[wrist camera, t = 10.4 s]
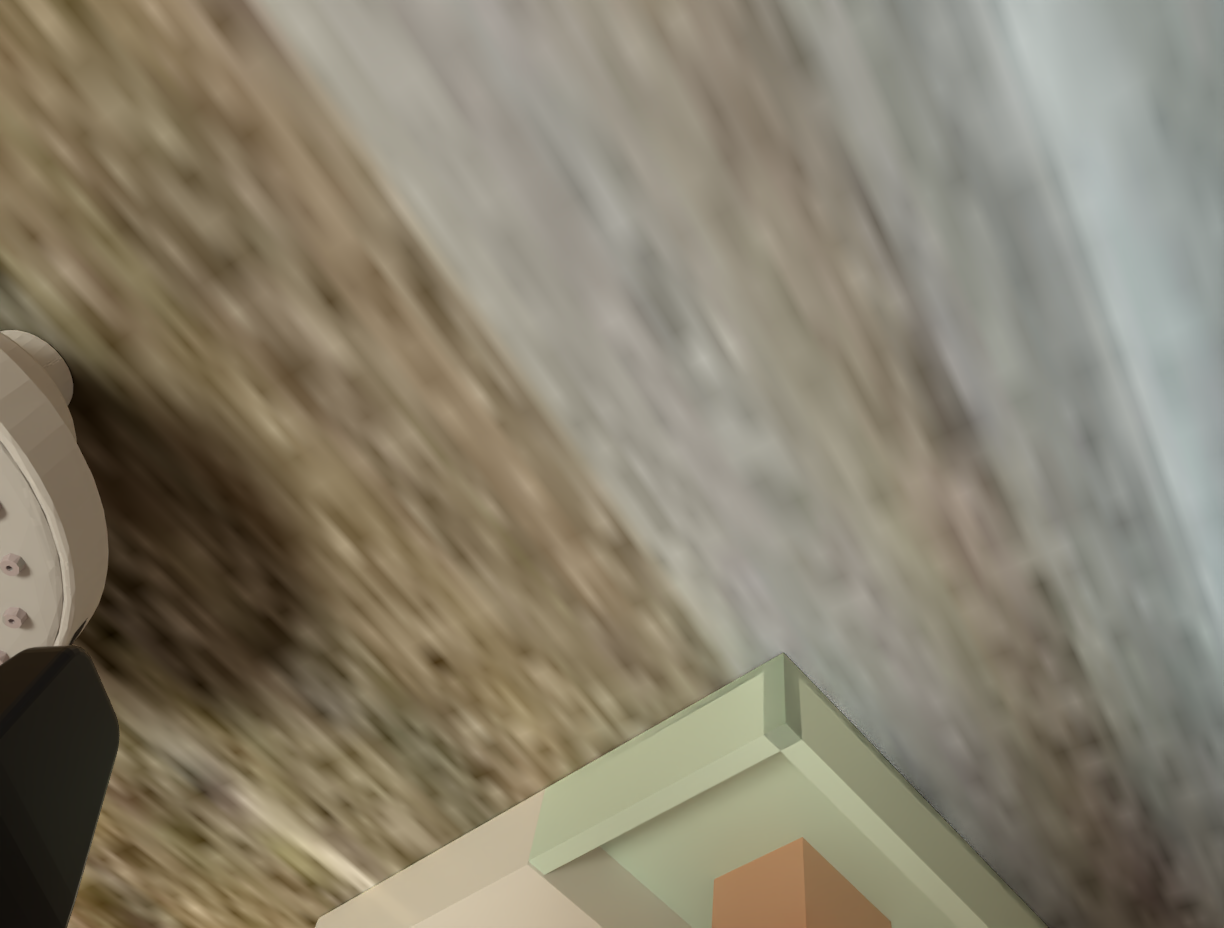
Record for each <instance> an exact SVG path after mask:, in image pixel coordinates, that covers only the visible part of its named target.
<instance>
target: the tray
mask: <svg viewBox="0 0 1224 928" xmlns="http://www.w3.org/2000/svg"><path fill="white" fill-rule="evenodd" d="M801 837H803V838H804V839H805V840H806V841H807V842H808V843H809V844H810V845H811V846H812V847H813V848H815V849H816V850H817V851H818V852H819V853H820V854H821V855H822V856H823V857H824V858H825V859H826V860H827V861H828V862H829V863H830V864H831V865H832V866H833V867H834V868H835V869H836V870H837V871H839V872H840V873H841V874H842V875H843V876H844V877H845V878H846V879H847V880H848V881H849V882H850V883H851V884H852V885H853V886H854V887H855V888H856V889H857V890H858V891H859V892H860V893H861V894H863V895H864V896H865V897H866V898H867V899H868V900H869V901H870V902H871V903H872V904H873V905H874V906H875V907H876V908H877V909H878V910H879V911H880V912H881V913H882V914H883V915H884V916H885V917H887V918H888V919H889V920H890V921H891V926H892V928H1049V927H1048V926H1047V925H1046V924H1045V923H1044V922H1043V921H1042V920H1041V919H1040V918H1039V917H1038V916H1037V915H1036V914H1035V913H1034V912H1033V911H1032V910H1031V909H1030V908H1029V907H1028V906H1027V905H1026V904H1025V903H1024V901H1023V900H1022V899H1021V898H1020V897H1019V896H1018V895H1017V894H1016V893H1015V892H1014V891H1013V890H1012V889H1011V888H1010V887H1009V886H1008V885H1007V884H1006V883H1005V882H1004V881H1003V880H1002V879H1001V878H1000V877H999V876H998V875H997V873H996V872H995V871H994V870H993V869H992V868H991V867H990V866H989V865H988V864H987V863H986V862H985V861H984V860H983V859H982V858H981V857H980V856H979V855H978V854H977V853H976V852H975V851H974V850H973V849H972V848H971V847H970V845H969V844H968V843H967V842H966V841H965V840H964V839H963V838H962V837H961V836H960V835H959V834H958V833H957V832H956V831H955V830H954V829H953V828H952V827H951V826H950V825H949V824H948V823H947V822H946V821H945V820H944V819H943V817H942V816H941V815H940V814H939V813H938V812H937V811H936V810H935V809H934V808H933V807H932V806H931V805H930V804H929V803H928V802H927V801H926V800H925V799H924V798H923V797H922V796H921V795H920V794H919V793H918V792H917V791H916V789H915V788H914V787H913V786H912V785H911V784H910V783H909V782H908V781H907V780H906V779H905V778H904V777H903V776H902V775H901V774H900V773H899V772H898V771H897V770H896V769H895V768H894V767H893V766H892V765H891V764H890V763H889V762H888V760H887V759H886V758H885V757H884V756H883V755H882V754H881V753H880V752H879V751H878V750H877V749H876V748H875V747H874V746H873V745H872V744H871V743H870V742H869V741H868V740H867V739H866V738H865V737H864V736H863V735H862V734H861V732H860V731H859V730H858V729H857V728H856V727H855V726H854V725H853V724H852V723H851V722H850V721H849V720H848V719H847V718H846V717H845V716H844V715H843V714H842V713H841V712H840V711H839V710H838V709H837V708H836V707H835V706H834V704H833V703H832V702H831V701H830V700H829V699H828V698H827V697H826V696H825V695H824V694H823V693H822V692H821V691H820V690H819V689H818V688H817V687H816V686H815V685H814V684H813V683H812V682H811V681H810V680H809V679H808V678H807V676H806V675H805V674H804V673H803V672H802V671H801V670H800V669H799V668H798V667H797V666H796V665H795V664H794V663H793V662H792V661H791V660H790V659H789V658H788V657H787V656H786V655H785V654H784V653H782V654H780V655H778V656H777V657H775V658H773V659H771V660H770V661H768V662H766V663H764V664H763V665H761V666H759V667H757V668H756V669H754V670H752V671H750V672H749V673H747V674H745V675H743V676H742V677H740V678H738V679H736V680H735V681H733V682H731V683H729V684H728V685H726V686H724V687H722V688H721V689H719V690H717V691H715V692H714V693H712V694H710V695H708V696H707V697H705V698H703V699H701V700H700V701H698V702H696V703H694V704H693V705H691V706H689V707H687V708H686V709H684V710H682V711H680V712H679V713H677V714H675V715H673V716H672V717H670V718H668V719H666V720H665V721H663V722H661V723H659V724H658V725H656V726H654V727H652V728H651V729H649V730H647V731H645V732H644V733H642V734H640V735H638V736H637V737H635V738H633V739H631V740H630V741H628V742H626V743H624V744H623V745H621V746H619V747H617V748H616V749H614V750H612V751H610V752H609V753H607V754H605V755H603V756H602V757H600V758H598V759H596V760H595V761H593V762H591V763H589V764H588V765H586V766H584V767H582V768H581V769H579V770H577V771H575V772H574V773H572V774H570V775H568V776H567V777H565V778H563V779H561V780H560V781H558V782H556V783H554V784H553V785H551V786H549V787H547V788H546V789H545V792H544V796H543V801H542V805H541V809H540V813H539V818H538V822H537V826H536V830H535V835H534V839H533V843H532V847H531V851H530V856H529V860H528V861H529V862H530V863H531V864H532V865H534V866H535V867H536V868H537V869H538V870H539V871H541V872H542V873H543V874H544V875H545V874H547V873H549V872H551V871H553V870H554V869H556V868H558V867H560V866H562V865H564V864H566V863H568V862H570V861H572V860H574V859H575V858H577V857H579V856H581V855H583V854H585V853H587V852H589V851H591V850H593V849H595V848H596V847H598V846H600V847H601V848H602V849H603V850H604V851H605V852H607V853H608V854H609V855H610V856H611V857H612V858H614V859H615V860H616V861H617V862H618V863H619V864H620V865H622V866H623V867H624V868H625V869H626V870H627V871H628V872H630V873H631V874H632V875H633V876H634V877H635V878H636V879H638V880H639V881H640V882H641V883H642V884H643V885H644V886H646V887H647V888H648V889H649V890H650V891H651V892H652V893H654V894H655V895H656V896H657V897H658V898H659V899H660V900H662V901H663V902H664V903H665V904H666V905H667V906H668V907H670V908H671V909H672V910H673V911H674V912H675V913H676V914H678V915H679V916H680V917H681V918H682V919H683V920H684V921H686V922H687V923H688V924H689V925H690V926H691V927H692V928H712V910H713V889H714V879H716V878H718V877H720V876H722V875H724V874H726V873H728V872H730V871H732V870H735V869H737V868H739V867H741V866H743V865H745V864H747V863H749V862H751V861H753V860H755V859H757V858H760V857H762V856H764V855H766V854H768V853H770V852H772V851H774V850H776V849H778V848H780V847H783V846H785V845H787V844H789V843H791V842H793V841H795V840H797V839H799V838H801Z"/></svg>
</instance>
